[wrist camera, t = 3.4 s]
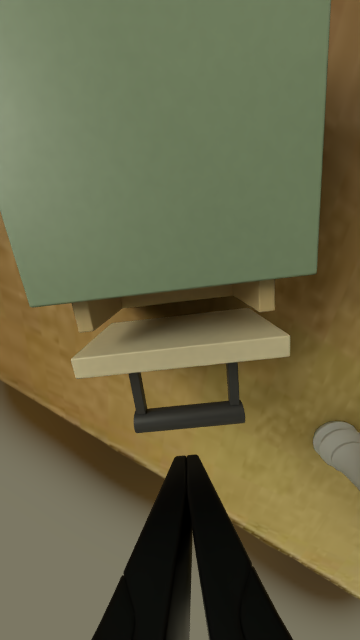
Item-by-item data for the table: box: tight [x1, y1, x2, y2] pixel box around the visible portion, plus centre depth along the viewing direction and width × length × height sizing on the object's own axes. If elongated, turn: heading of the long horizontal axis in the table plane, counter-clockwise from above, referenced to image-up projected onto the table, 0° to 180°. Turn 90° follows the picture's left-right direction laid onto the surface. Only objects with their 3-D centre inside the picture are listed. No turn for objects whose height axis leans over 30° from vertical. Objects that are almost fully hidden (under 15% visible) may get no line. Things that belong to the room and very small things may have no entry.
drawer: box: [71, 279, 290, 433], centre depth 13 cm, size 19×11×7 cm, turn 7°
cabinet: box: [0, 0, 331, 307], centre depth 11 cm, size 15×13×9 cm
